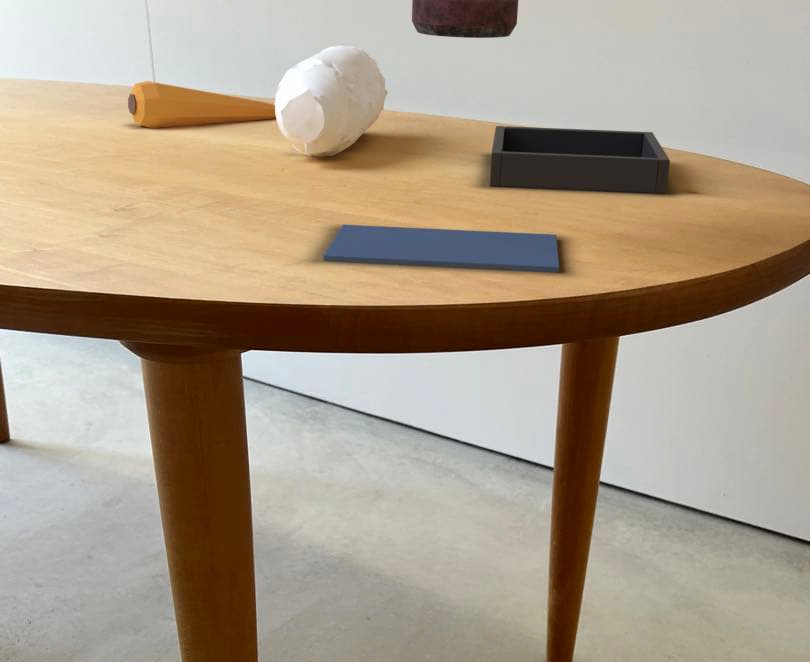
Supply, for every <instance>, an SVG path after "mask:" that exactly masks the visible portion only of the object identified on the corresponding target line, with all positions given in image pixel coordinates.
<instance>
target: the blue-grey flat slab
mask: <svg viewBox="0 0 810 662" xmlns="http://www.w3.org/2000/svg"><path fill="white" fill-rule="evenodd" d="M341 225H342V226H341V227H340V228H339V230H338V232H337V233H336V235H335V237H334V238H333V240H332V241H331V242H330V245H329V246H328V248H327V249H326V251H325V252H324V254H323V257H322V259H323V262H329V263H330V262H331V263H353V264H369V265H370V264H371V265H392V266H411V267H432V268H452V269H453V268H454V269H471V270H472V269H473V270H493V271H513V272H514V271H515V272H531V273H550V274H552V273H553V274H559V273H560V259H559V249H558V248H559V247H558V239H557V234H552V233H551V234H550V233H549V234H548V233H533V232H531V233H530V232H511V231H509V232H507V231H489V230H488V231H487V230H470V229H469V230H468V229H467V230H465V229H448V228H447V229H446V228H445V229H443V228H425V227H424V228H423V227H406V226H405V227H404V226H403V227H402V226H383V225H381V226H380V225H363V224H362V225H361V224H356V225H355V224H341Z"/></svg>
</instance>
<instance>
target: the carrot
mask: <svg viewBox="0 0 810 662" xmlns="http://www.w3.org/2000/svg"><path fill="white" fill-rule="evenodd" d="M130 92H131V93H129V95H128V98H127V108H128V112H129V114H131V116H132V119H133V122H134V124H136V125H139V126H142V127H145V128H149V129H158V128H170V127H171V128H172V127H182V126H183V127H185V126H198V125H211V124H223V123H234V122H247V121H249V122H250V121H259V120H272V119H276V115H275V103H269V102H265V101H261V100H260V101H259V100H254V99H250V98H244V97H238V96H232V95H227V94H221V93H216V92H211V91H204V90H199V89H195V88H188V87H182V86H179V85H178V86H177V85H171V84H167V83H161V82H155V81H150V80H146V81H142V82H137V83H134V84H133V87H132V90H131V91H130Z"/></svg>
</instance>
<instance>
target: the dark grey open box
mask: <svg viewBox="0 0 810 662" xmlns="http://www.w3.org/2000/svg"><path fill="white" fill-rule="evenodd" d="M491 148H492V149H491V154H490V155H491V157H490V173H489V188H508V189H530V190H553V191H555V190H556V191H575V192H577V191H578V192H600V193H621V194H622V193H623V194H644V195H645V194H646V195H665V196H666V193H667V186H668V179H669V172H670V164H671V160H670V158H669V157H668V154H667V153H666V152H665V150H664V148H663V147H662V146H661V144H660V142H659V140H658V139H657V138H656V135H655V134H654V132H652V131H635V130H610V129H609V130H608V129H607V130H606V129H584V128H583V129H582V128H580V129H579V128H557V127H536V126H534V127H533V126H509V125H506V126H504V125H496V126H495V129H494V136H493V141H492V147H491Z"/></svg>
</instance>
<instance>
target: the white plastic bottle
mask: <svg viewBox="0 0 810 662" xmlns="http://www.w3.org/2000/svg"><path fill="white" fill-rule="evenodd" d="M378 63H379V62H378V61H377V60H376V59H375V58H374V57H371V56H370V55H369V54H368V53H367V52H366V51H365V50H363V49H360V48H358V47H356V46H354V45H349V46H346V45H344V44H340V45H333V46H329V47H326V48H325V49H322V50H321V51H319V52H318V53H316V54H314V55H312V56H310V57H308V58H306V59H303V60H302V61H300V62H298V63H297V64H296V65H294V66H293V67H291V68H289V69H288V70H287V71H286V73H285V74H284V76H283V77H282V78H281V80H280V82H279V83H278V85H277V88H276V92H275V98H274V105H275V115H276V118H275V120H276V123H277V125H278V130H279V132H281V134H282V135H283V137H284V138H285V140H286V141H288V142H289V143H290V145H292V147H293V148H294V149H295V151H297V152H300V153H301V154H302V155H304V156H307V157H320V158H324V157H325V158H326V157H333V156H335V155H337V154H339V153H341V152H343V151H344V150H346V149H347V148H349V147H351V146H352V145H353V144H354V143H355V142H356V141H357V140H358V139H360V137H361V136H362V135H363V134H364V133H365V132H366V131H367V130H369V129H370V128H371V127H372V126H373V124H375V123H376V122H377V120H378V119H379V117H380V114H381V113H382V111H384V107H385V101H386V97H387V95H388V94H389V91H388V90H386V79H385V77H384V76H383V74H382V73H381V71H380V68H379V67H378Z"/></svg>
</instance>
